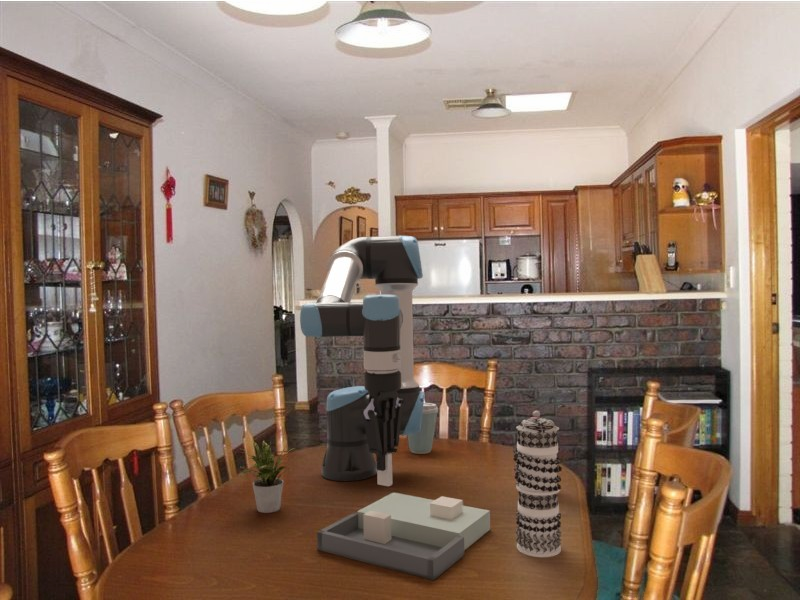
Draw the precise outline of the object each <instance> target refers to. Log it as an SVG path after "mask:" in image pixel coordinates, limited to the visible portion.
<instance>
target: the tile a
mask: <svg viewBox="0 0 800 600" xmlns="http://www.w3.org/2000/svg"><path fill="white" fill-rule="evenodd" d="M363 523H364V539H366V540H370V541H374V542H378V543H383V544H385V543H387V542H388V541H390V540H391V515H389V514H384V513H380V512H375V511H369V512H367V513H365V514H363Z"/></svg>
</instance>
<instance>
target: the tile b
mask: <svg viewBox="0 0 800 600" xmlns="http://www.w3.org/2000/svg"><path fill="white" fill-rule="evenodd" d="M434 500H435V501H433V502H431V503H430V515H431V516H436V517H441V518H446V519H451V520H452V519H454V518H455V517H456V516H458V515H459V514H461V513H462V512H463V506H464V499H459V498H454V497H448V496H443V495H441V496H439V497H438V498H436V499H434Z"/></svg>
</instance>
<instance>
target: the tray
mask: <svg viewBox="0 0 800 600" xmlns="http://www.w3.org/2000/svg"><path fill="white" fill-rule="evenodd" d="M316 539H317V541H316V549H317V550H318V551H321V552H324V553H328V554H333V555H335V556H339V557H344V558H347V559H351V560H355V561H358V562H363V563H366V564H369V565H374V566H377V567H381V568H385V569H388V570H389V569H390V570H393V571H397V572H400V573H405V574H408V575H411V576H416V577H418V578H419V577H420V578H423V579H426V580H427V579H428V580H431V581H435V580H436V579H437V578H438V577H440V575H442V574H443V573H444V572H445V571H447V570H448V569H449V568H450V567H452V566H453V565H454V564H455V563H456V562H458V561H459V560H461V559H462V558H463V557H464V556H465V550H464V537H462V536H457V537H456V538H455V539H453V540H452V541H451V542H449V543H448V544H447V545H445V546H444V547H438V546H434V545H430V544H425V543H421V542H417V541H412V540H408V539H404V538H399V537H395V536H391V540H390V541H388V542H387V543H385V544H383V543H378V542H374V541H370V540H366V539H364V529H360V528H358V514H357V512H353V513H351V514H349V515H347V516H345V517H343V518H341V519H339V520H337V521H335V522H333V523H331V524H329V525H328V526H326V527H324V528H322V529H319V530H318V531H317V532H316Z"/></svg>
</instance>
